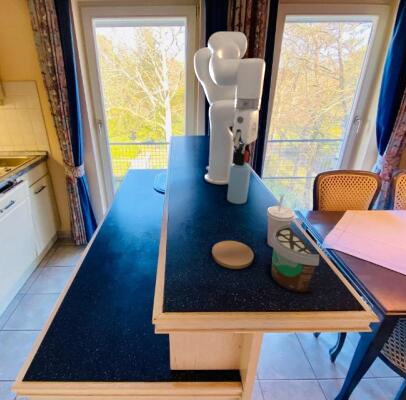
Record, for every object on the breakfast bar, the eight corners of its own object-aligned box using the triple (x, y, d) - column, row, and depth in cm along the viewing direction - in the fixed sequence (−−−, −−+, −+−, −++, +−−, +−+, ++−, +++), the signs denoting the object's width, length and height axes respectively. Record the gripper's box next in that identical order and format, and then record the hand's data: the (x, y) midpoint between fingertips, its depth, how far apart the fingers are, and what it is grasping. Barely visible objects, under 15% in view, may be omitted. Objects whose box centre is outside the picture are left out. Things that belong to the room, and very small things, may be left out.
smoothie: (257, 240, 71) (264, 192, 65) (276, 235, 73) (284, 188, 67) (273, 253, 66) (282, 203, 60) (293, 247, 68) (304, 198, 62)
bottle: (223, 197, 95) (227, 151, 88) (238, 193, 98) (243, 149, 90) (234, 205, 90) (240, 157, 82) (250, 201, 93) (257, 154, 85)
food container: (257, 259, 63) (263, 223, 59) (282, 258, 64) (289, 222, 60) (279, 299, 52) (288, 258, 48) (309, 297, 53) (321, 256, 48)
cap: (244, 162, 85) (245, 153, 84) (233, 160, 87) (234, 151, 86) (249, 159, 88) (250, 150, 86) (238, 158, 90) (239, 149, 88)
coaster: (204, 250, 67) (204, 246, 67) (236, 240, 71) (236, 236, 71) (227, 274, 59) (228, 270, 59) (262, 261, 63) (262, 257, 62)
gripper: (249, 108, 72) (242, 172, 79) (268, 103, 84) (260, 159, 92) (224, 106, 76) (220, 167, 83) (245, 102, 88) (240, 155, 96)
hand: (241, 162), depth 88 cm, fingers closed on cap, 3 cm apart
